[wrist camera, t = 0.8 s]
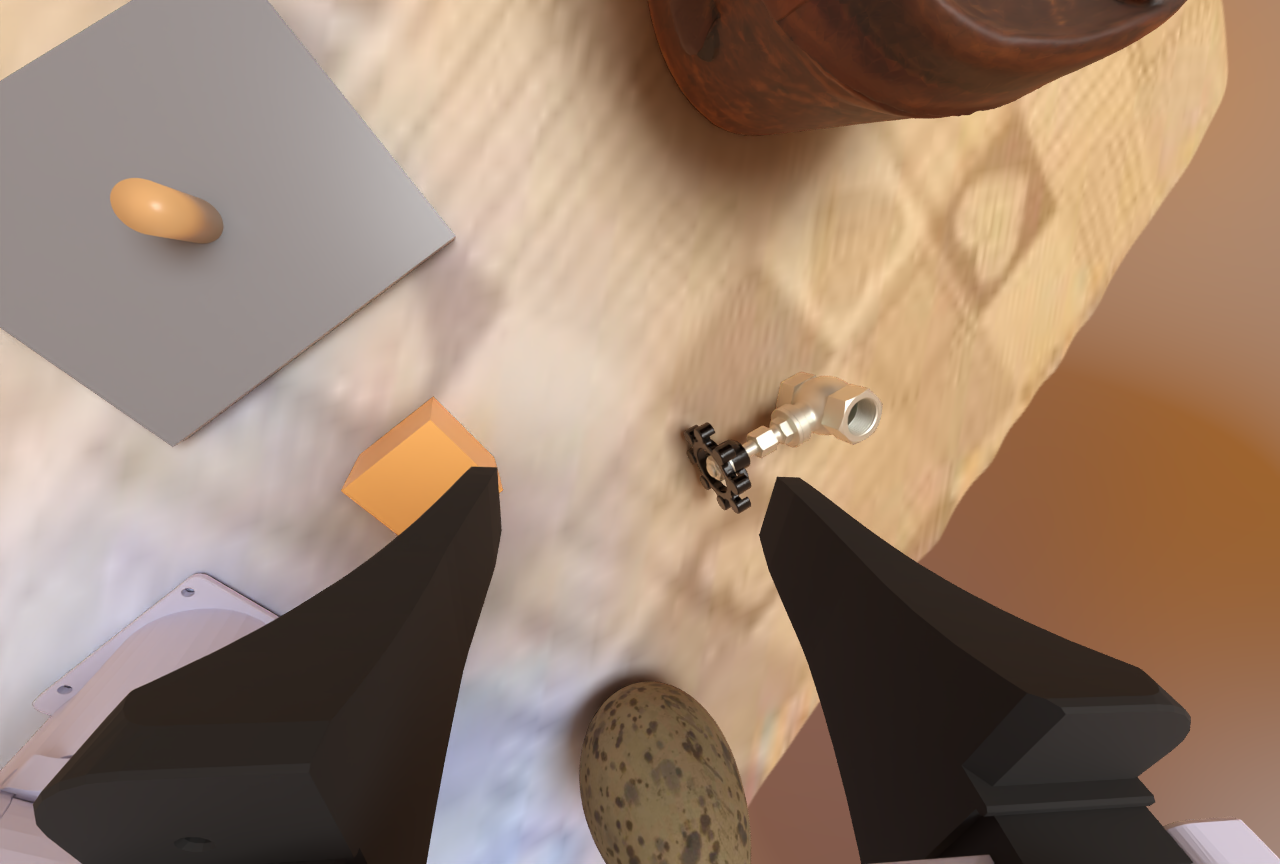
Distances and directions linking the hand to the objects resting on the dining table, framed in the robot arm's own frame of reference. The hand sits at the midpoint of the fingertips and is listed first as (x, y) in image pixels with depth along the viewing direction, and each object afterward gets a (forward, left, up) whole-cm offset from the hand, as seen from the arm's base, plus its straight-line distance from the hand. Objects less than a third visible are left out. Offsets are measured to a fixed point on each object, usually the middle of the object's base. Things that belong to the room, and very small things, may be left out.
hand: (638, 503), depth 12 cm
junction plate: (-6, +14, -18) cm, 23 cm away
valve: (+11, -13, -18) cm, 25 cm away
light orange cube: (-7, 0, -18) cm, 19 cm away
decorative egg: (-11, -26, -18) cm, 33 cm away
